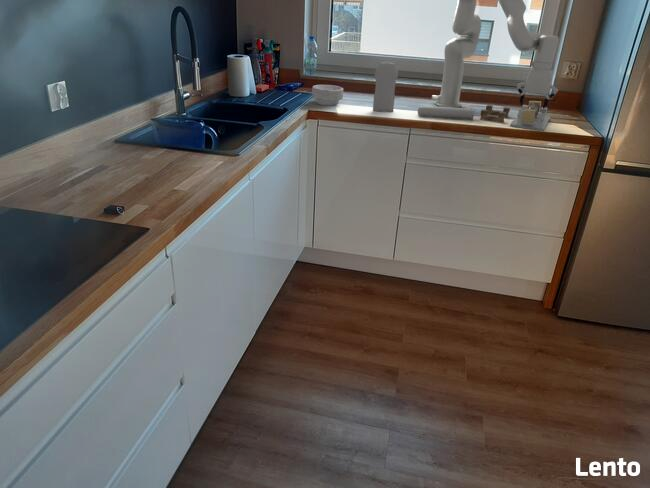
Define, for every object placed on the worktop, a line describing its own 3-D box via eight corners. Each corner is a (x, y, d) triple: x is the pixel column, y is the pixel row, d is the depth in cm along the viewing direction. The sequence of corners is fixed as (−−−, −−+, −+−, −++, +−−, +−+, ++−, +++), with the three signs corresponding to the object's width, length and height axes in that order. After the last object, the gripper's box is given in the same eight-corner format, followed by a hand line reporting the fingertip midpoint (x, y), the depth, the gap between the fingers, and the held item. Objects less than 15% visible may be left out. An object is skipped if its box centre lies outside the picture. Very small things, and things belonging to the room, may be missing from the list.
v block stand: (509, 126, 221) (512, 112, 218) (518, 115, 242) (521, 102, 239) (543, 131, 216) (547, 117, 213) (549, 119, 237) (552, 106, 234)
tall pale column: (372, 111, 236) (376, 62, 226) (371, 109, 240) (375, 61, 230) (394, 112, 237) (399, 63, 227) (393, 110, 241) (398, 61, 230)
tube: (418, 109, 228) (474, 112, 225) (418, 102, 232) (473, 106, 229) (416, 119, 232) (472, 122, 229) (416, 113, 236) (471, 116, 233)
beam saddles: (479, 119, 231) (481, 110, 229) (486, 113, 243) (487, 104, 241) (503, 122, 227) (504, 113, 225) (508, 116, 239) (510, 107, 237)
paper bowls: (348, 103, 251) (349, 86, 247) (332, 108, 239) (332, 91, 236) (322, 99, 258) (323, 82, 254) (305, 103, 247) (306, 87, 243)
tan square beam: (521, 122, 219) (522, 110, 217) (528, 111, 239) (529, 100, 236) (533, 122, 217) (535, 110, 215) (539, 112, 236) (541, 101, 234)
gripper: (520, 64, 218) (511, 104, 226) (563, 69, 212) (552, 110, 220) (523, 62, 224) (513, 101, 232) (564, 67, 218) (553, 107, 226)
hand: (532, 106), depth 226 cm, fingers open, 9 cm apart
